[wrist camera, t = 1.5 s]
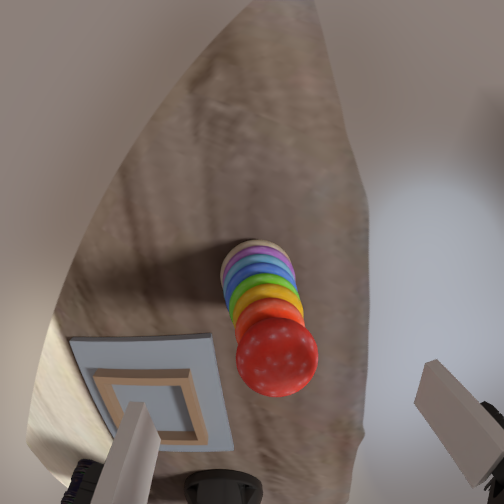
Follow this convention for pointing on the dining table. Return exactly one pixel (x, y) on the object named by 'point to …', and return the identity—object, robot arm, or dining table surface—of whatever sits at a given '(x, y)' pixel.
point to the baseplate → (159, 386)
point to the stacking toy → (267, 319)
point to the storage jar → (76, 480)
